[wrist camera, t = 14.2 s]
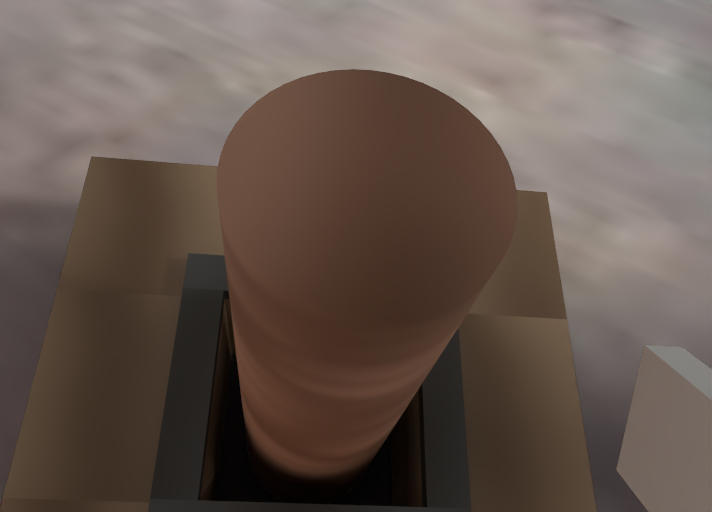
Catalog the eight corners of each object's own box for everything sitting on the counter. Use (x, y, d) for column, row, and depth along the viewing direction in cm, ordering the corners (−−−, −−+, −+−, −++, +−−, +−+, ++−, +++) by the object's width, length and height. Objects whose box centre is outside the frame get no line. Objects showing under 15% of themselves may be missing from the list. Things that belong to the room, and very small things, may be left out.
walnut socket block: (503, 258, 28) (553, 182, 23) (554, 710, 20) (644, 738, 15) (120, 232, 27) (87, 145, 22) (16, 709, 19) (-72, 741, 14)
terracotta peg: (370, 385, 25) (502, 82, 11) (370, 508, 23) (534, 329, 9) (253, 379, 24) (233, 57, 10) (241, 505, 22) (197, 310, 8)
